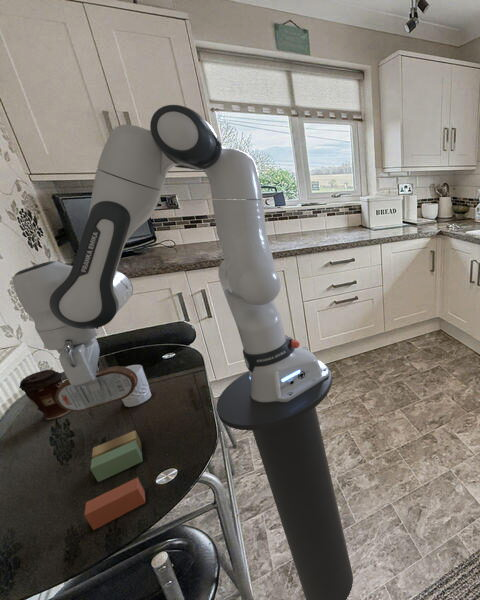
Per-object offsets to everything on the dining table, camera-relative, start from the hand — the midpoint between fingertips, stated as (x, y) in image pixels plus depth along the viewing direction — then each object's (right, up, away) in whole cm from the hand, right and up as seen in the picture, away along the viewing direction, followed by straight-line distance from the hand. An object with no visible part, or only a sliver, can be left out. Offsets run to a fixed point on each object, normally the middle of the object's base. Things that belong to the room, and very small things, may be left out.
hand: (97, 384), depth 79 cm
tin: (+1, -5, +2) cm, 5 cm away
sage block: (+9, -18, -4) cm, 20 cm away
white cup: (-7, -10, +21) cm, 24 cm away
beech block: (+6, -17, -1) cm, 18 cm away
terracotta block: (+18, -21, -14) cm, 31 cm away
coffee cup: (-28, -13, +18) cm, 36 cm away
